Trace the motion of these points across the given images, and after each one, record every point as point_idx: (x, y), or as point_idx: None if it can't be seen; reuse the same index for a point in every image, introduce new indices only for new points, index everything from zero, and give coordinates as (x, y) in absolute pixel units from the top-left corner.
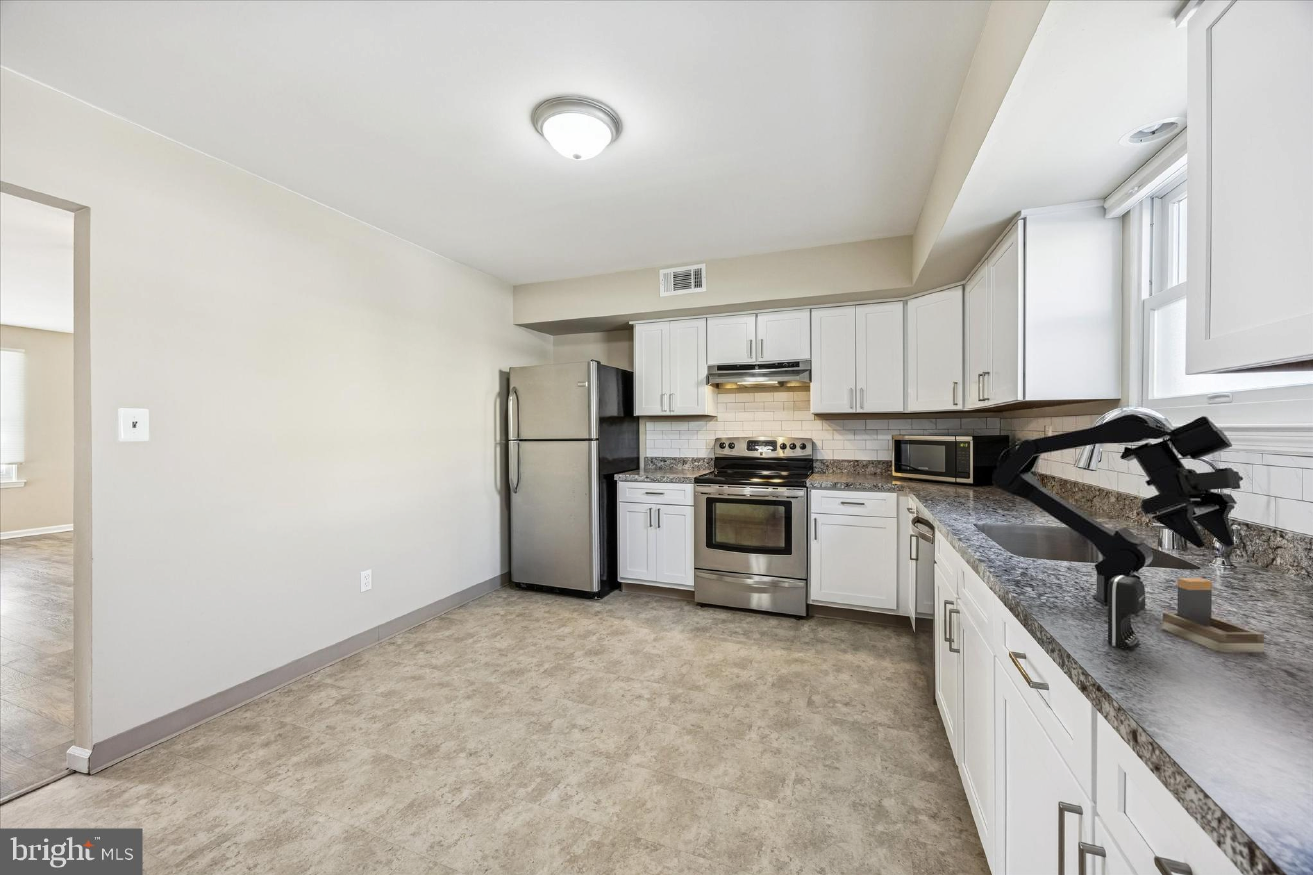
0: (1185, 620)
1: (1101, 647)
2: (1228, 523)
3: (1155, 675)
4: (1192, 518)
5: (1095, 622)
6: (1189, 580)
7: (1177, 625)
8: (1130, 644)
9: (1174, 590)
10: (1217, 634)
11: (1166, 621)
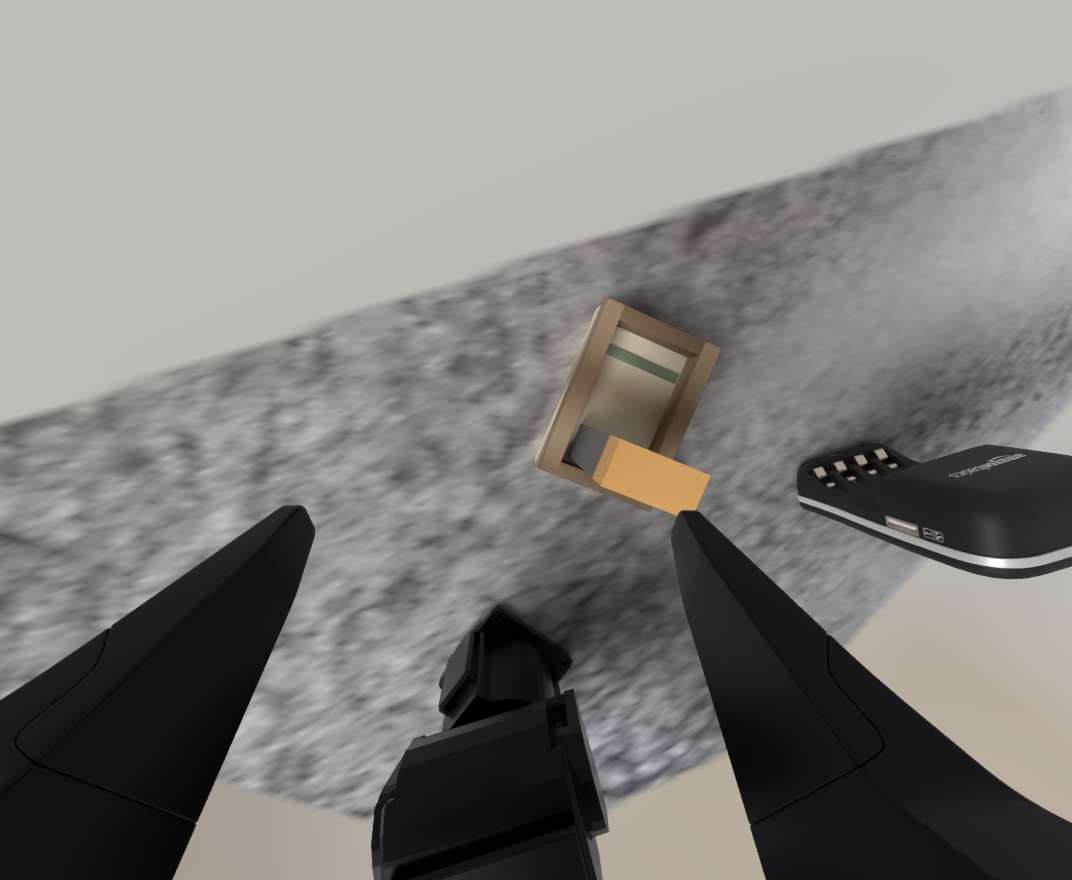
0: (673, 447)
1: None
2: (59, 672)
3: (973, 345)
4: (868, 757)
5: None
6: (687, 483)
7: None
8: (872, 450)
9: None
10: (715, 356)
11: None
